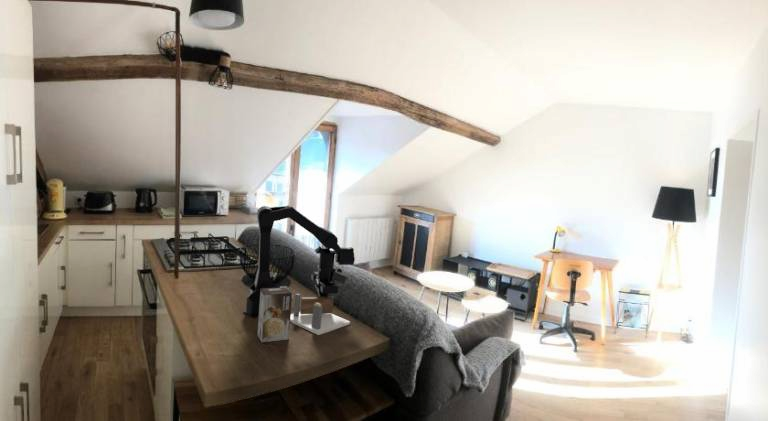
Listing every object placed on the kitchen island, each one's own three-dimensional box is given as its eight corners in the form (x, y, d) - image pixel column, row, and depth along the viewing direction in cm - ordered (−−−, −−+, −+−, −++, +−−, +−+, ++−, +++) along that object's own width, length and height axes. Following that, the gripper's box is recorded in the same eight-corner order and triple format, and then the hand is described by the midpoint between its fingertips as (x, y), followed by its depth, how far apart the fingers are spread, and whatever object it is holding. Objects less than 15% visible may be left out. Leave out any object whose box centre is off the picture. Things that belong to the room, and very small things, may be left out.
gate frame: (318, 335, 156) (321, 307, 155) (283, 318, 167) (286, 292, 165) (349, 324, 169) (352, 298, 167) (315, 309, 179) (318, 285, 178)
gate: (332, 313, 173) (333, 298, 172) (300, 314, 168) (302, 298, 168) (330, 311, 175) (332, 296, 174) (299, 312, 170) (301, 297, 169)
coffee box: (284, 332, 156) (287, 286, 153) (289, 340, 150) (293, 293, 148) (256, 334, 151) (260, 288, 149) (260, 342, 146) (264, 294, 143)
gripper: (354, 271, 169) (349, 311, 171) (339, 258, 186) (335, 294, 188) (325, 271, 165) (320, 312, 167) (312, 257, 182) (309, 295, 184)
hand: (322, 303), depth 177 cm, fingers closed
